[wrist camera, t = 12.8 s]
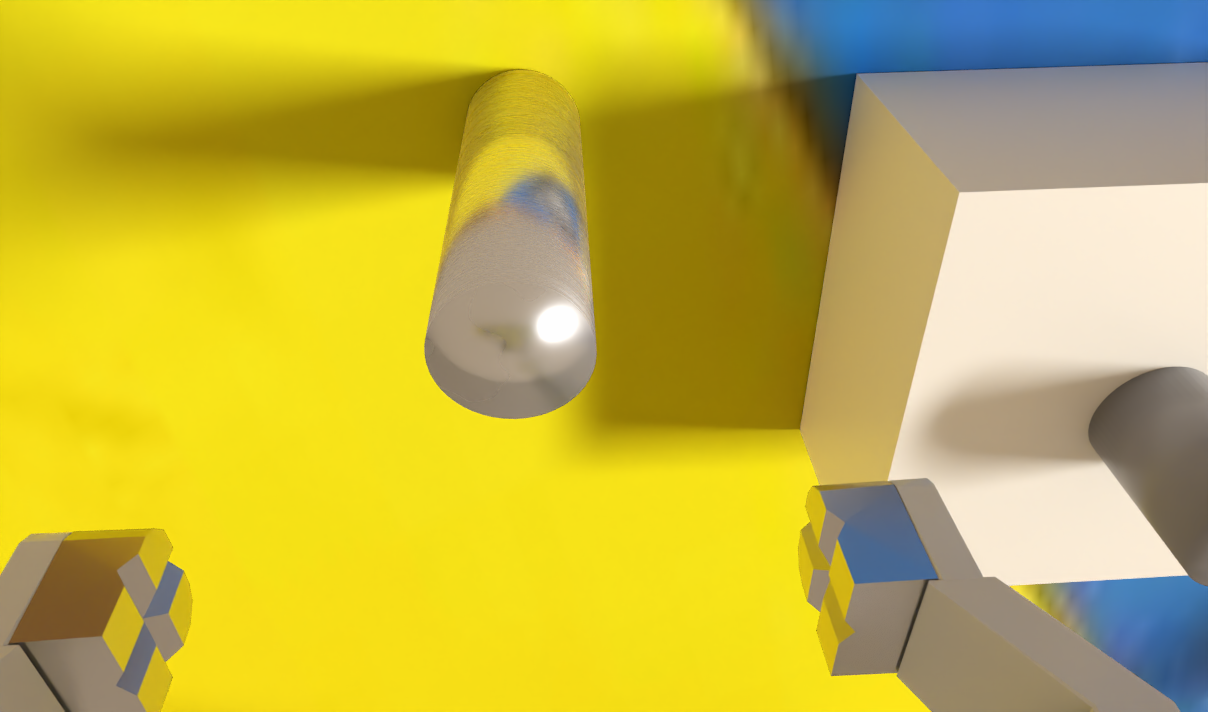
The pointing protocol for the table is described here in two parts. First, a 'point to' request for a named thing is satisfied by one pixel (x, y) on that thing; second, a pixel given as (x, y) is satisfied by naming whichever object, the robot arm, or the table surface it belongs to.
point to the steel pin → (515, 256)
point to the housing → (1026, 313)
